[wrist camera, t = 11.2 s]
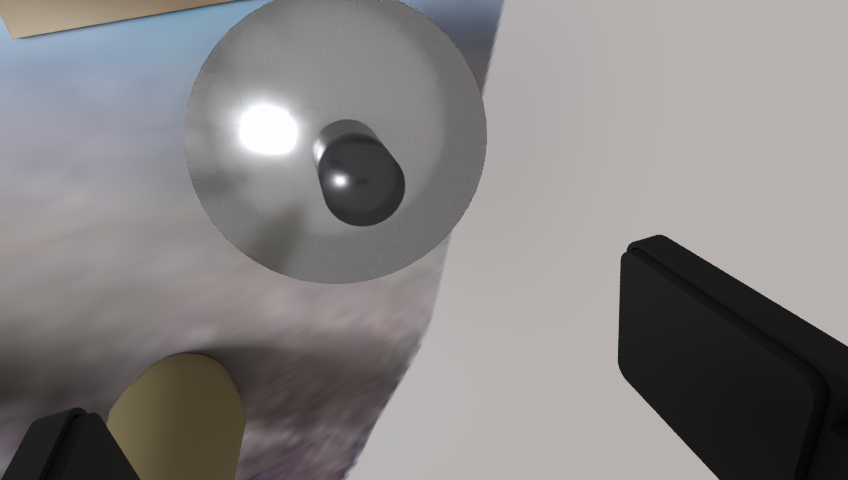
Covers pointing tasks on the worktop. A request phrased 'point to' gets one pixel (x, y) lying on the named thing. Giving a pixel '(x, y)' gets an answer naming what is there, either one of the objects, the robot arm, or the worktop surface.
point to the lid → (335, 137)
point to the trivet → (81, 13)
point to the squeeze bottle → (180, 421)
